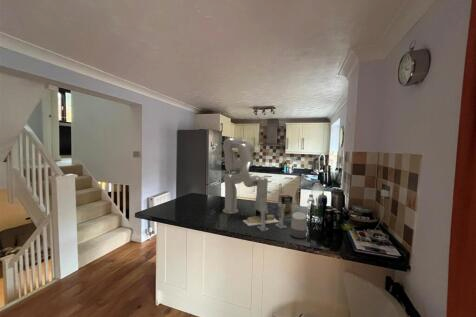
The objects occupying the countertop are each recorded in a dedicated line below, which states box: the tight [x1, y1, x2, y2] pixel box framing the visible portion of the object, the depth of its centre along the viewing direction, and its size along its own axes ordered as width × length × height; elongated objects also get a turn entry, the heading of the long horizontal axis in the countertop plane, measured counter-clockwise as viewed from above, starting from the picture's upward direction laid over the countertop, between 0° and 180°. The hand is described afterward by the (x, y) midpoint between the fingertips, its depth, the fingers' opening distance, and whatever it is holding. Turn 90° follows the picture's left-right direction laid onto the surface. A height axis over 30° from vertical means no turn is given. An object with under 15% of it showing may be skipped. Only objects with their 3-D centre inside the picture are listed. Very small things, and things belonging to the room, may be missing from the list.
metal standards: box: [256, 202, 288, 232], centre depth 138 cm, size 6×19×16 cm, turn 112°
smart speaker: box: [290, 211, 308, 240], centre depth 125 cm, size 10×9×14 cm
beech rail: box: [246, 214, 275, 223], centre depth 148 cm, size 3×20×3 cm, turn 112°
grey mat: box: [242, 217, 279, 227], centre depth 148 cm, size 10×24×1 cm, turn 112°
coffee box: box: [277, 194, 294, 219], centre depth 160 cm, size 9×6×16 cm
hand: (260, 218), depth 148 cm, fingers open, 9 cm apart
